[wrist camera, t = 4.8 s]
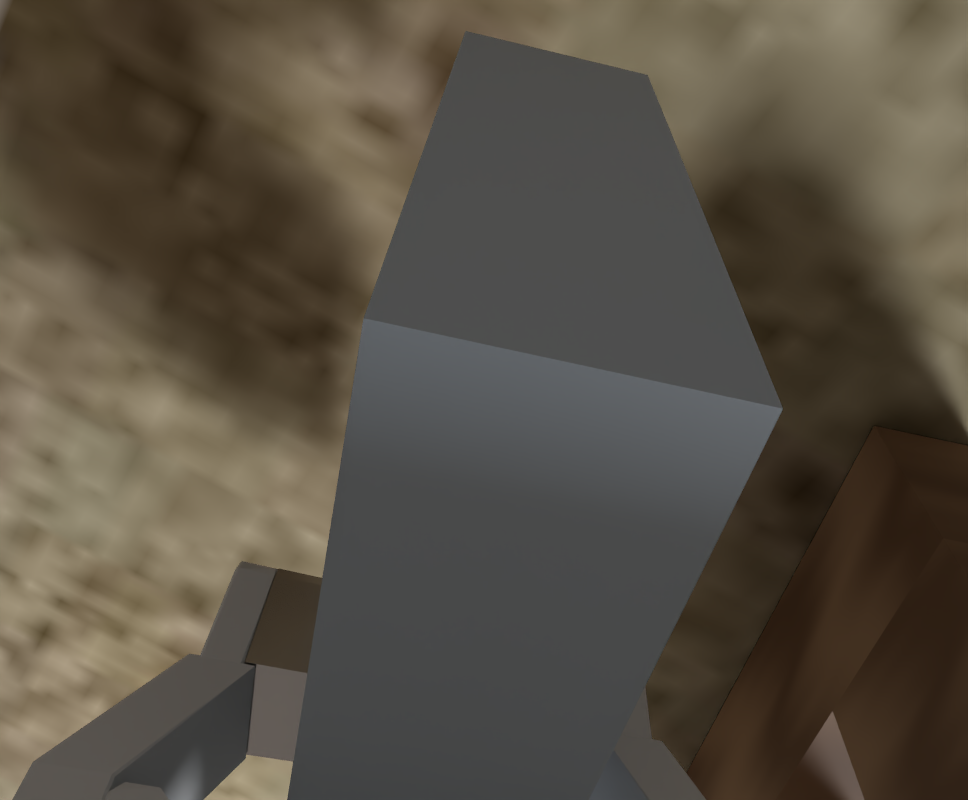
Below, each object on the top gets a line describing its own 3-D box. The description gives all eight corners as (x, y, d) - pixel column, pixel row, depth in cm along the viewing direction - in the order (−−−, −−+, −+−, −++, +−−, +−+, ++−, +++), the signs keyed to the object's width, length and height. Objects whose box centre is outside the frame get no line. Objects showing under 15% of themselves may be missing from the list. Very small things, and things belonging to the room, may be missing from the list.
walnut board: (873, 425, 20) (1047, 708, 14) (974, 447, 21) (1195, 735, 14) (678, 788, 28) (727, 1091, 21) (753, 802, 28) (827, 1107, 21)
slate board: (465, 31, 12) (364, 318, 5) (647, 74, 12) (783, 408, 5) (338, 692, 19) (231, 1150, 13) (449, 712, 20) (401, 1176, 13)
